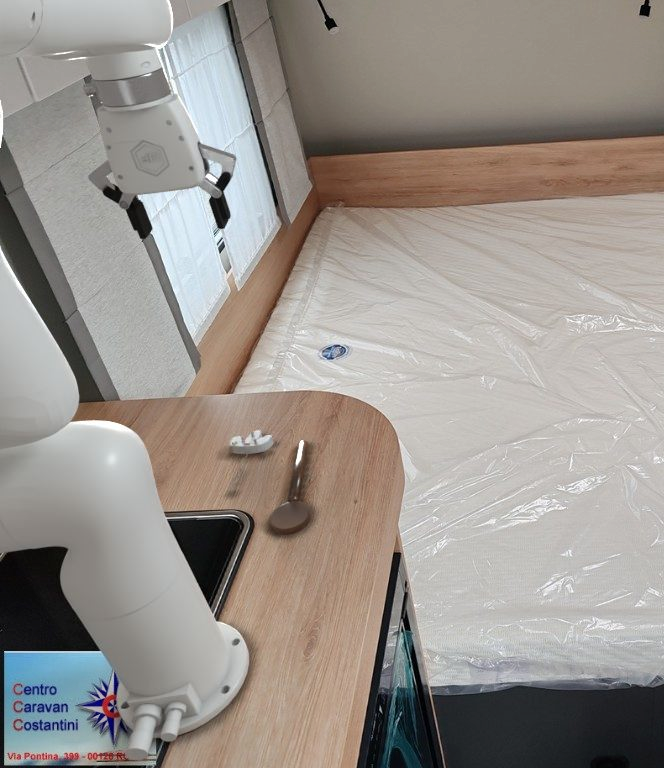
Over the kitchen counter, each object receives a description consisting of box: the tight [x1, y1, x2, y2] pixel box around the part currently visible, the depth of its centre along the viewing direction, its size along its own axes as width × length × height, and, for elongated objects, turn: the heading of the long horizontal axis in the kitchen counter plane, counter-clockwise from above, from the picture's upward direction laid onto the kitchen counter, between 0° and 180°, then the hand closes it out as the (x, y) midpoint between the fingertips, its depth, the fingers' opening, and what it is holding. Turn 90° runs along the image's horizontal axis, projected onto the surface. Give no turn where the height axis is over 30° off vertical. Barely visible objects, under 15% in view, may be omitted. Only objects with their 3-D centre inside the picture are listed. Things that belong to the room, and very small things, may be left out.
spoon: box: [270, 439, 312, 535], centre depth 98 cm, size 17×5×1 cm, turn 7°
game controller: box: [229, 429, 275, 495], centre depth 103 cm, size 6×12×3 cm, turn 16°
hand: (185, 229), depth 95 cm, fingers open, 9 cm apart
